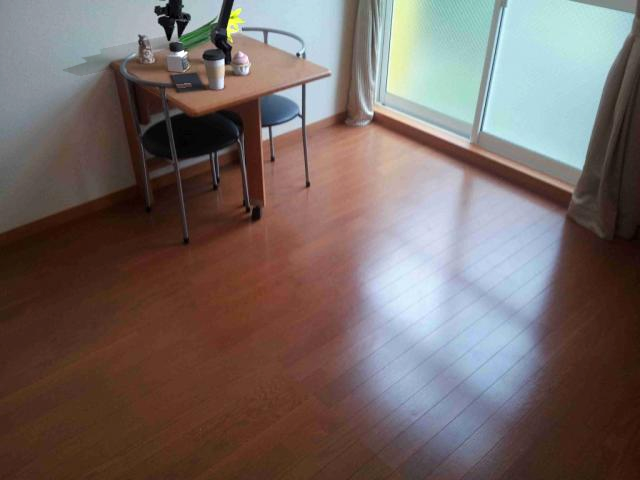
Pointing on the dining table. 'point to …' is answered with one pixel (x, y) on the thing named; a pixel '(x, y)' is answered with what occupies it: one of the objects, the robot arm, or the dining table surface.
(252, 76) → the dining table surface
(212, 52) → the coffee cup
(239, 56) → the cupcake
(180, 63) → the medicine bottle
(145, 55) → the figurine
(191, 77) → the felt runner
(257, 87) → the dining table surface
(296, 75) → the dining table surface
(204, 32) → the daffodil flowers
